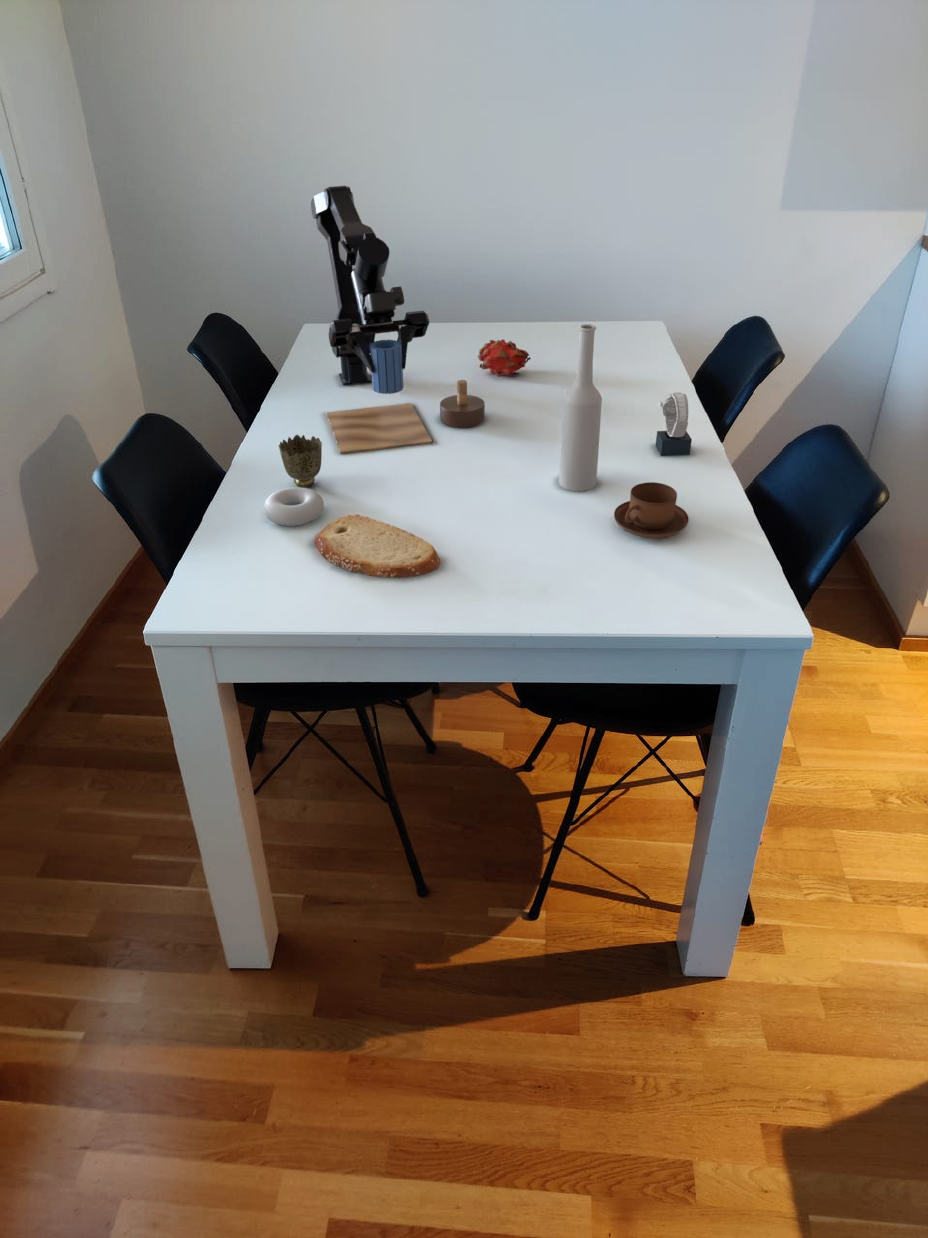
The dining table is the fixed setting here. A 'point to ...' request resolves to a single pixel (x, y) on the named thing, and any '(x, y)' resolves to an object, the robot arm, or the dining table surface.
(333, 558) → the bread slice
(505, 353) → the dragon fruit
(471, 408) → the stand
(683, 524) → the cup and saucer
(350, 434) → the wooden board
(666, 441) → the watch
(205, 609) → the dining table surface
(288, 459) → the cup
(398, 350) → the sleeve
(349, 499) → the dining table surface
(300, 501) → the donut
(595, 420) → the bottle
